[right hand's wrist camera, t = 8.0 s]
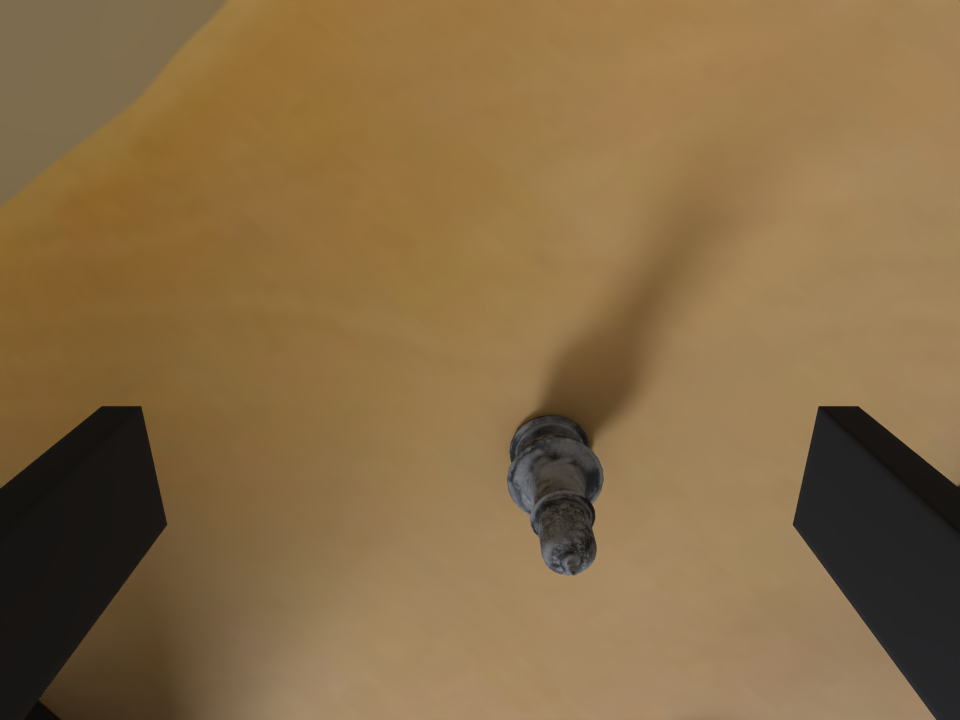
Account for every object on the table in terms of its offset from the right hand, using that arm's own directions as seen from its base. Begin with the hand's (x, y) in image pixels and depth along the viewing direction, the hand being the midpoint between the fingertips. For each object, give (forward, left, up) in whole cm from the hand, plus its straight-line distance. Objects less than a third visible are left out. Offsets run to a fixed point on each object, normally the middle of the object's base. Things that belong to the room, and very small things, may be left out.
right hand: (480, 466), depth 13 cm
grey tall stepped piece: (-7, +14, -26) cm, 31 cm away
